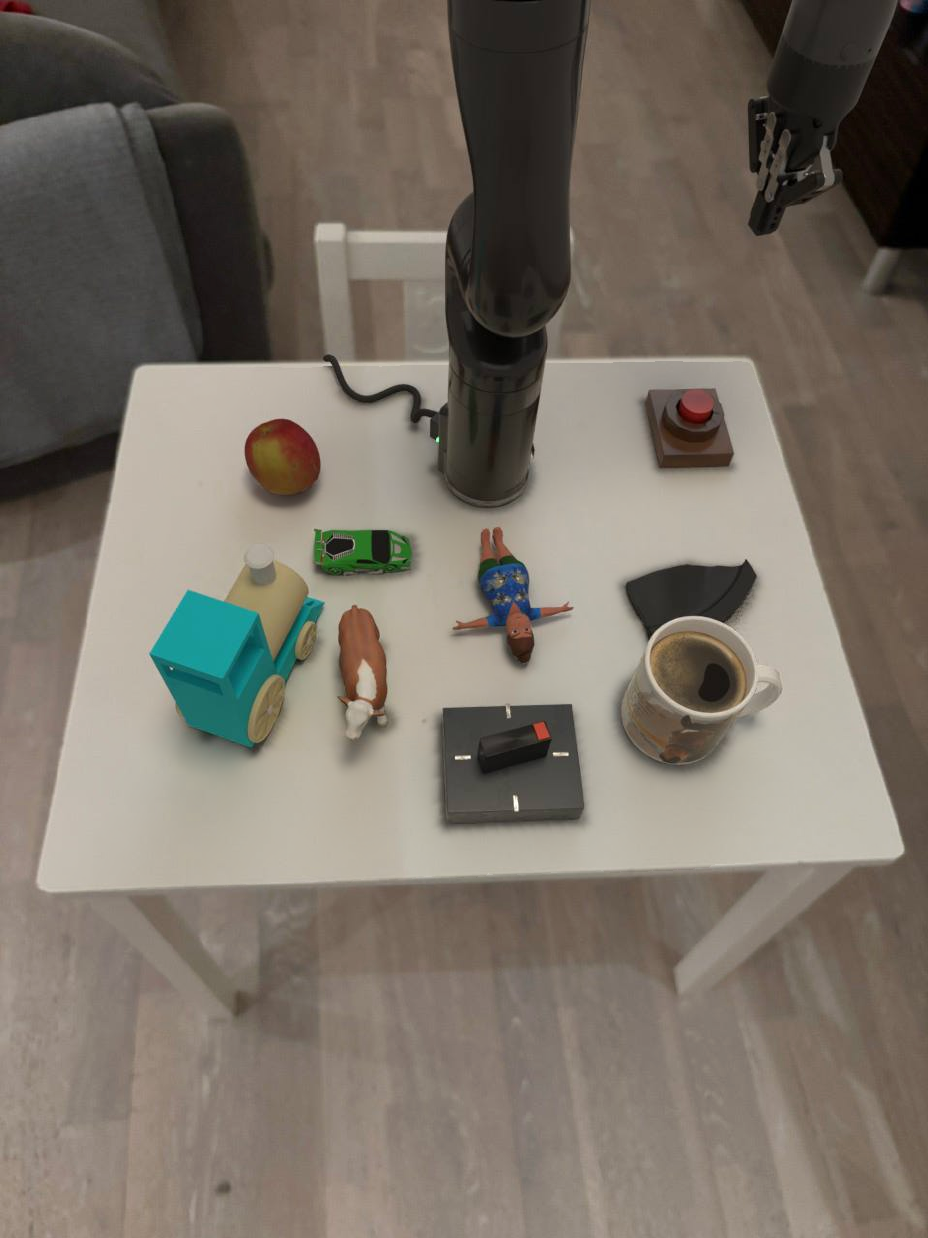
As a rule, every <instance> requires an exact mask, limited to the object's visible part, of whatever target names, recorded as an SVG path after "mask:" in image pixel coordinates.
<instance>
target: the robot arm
mask: <svg viewBox="0 0 928 1238" xmlns="http://www.w3.org/2000/svg"><path fill="white" fill-rule="evenodd" d="M898 1H899V0H791V3H790V7H789V10H788V13H787V15H786V19H785V22H784V25H783V28H782V31H781V35H780V37H779V39H778V44H777V47H776V50H775V53H774V56H773V59H772V63H771V66H770V69H769V71H768V75H767V78H766V91H767V94H768V95H764V96H758V97H753V98H750V99H749V100H748V103H747V124H748V125H747V126H748V127H747V128H748V129H747V130H748V158H749V159H748V160H749V163H748V164H749V171H750V173H751V174H755V173H756V175H757V177H756V182H755V186H756V187H755V188H756V189H757V193H756V195H755V198H754V202H753V204H752V207H751V210H750V213H749V220H748V222H747V226H748V227H749V228H750V230H751V231H752V233H753V234H754V235H755V236H756V237H761V236H765V235H770V234H773V233H774V232H776V231H777V230H778V229H779V227H780V224H781V221H782V219H783V217H784V214H785V211H786V208H789V207H794V206H799V205H805V204H807V203H809V202H811V201H813V200H814V199H816V198H817V197H819V196H821V195H823V194H825V193H827V192H828V191H830V190H832V189H833V188H836V187H837V186H840V184H841V183H842V182H843V177H844V175H843V171H842V169H841V168H835V169H833V162H832V156H831V152H832V150H833V149H834V148H835V146H836V143H837V140H838V131H839V126H840V123H841V122H842V120H843V119H844V118H845V117H846V116H847V115H848V114H849V113H850V112H851V111H852V110H853V109H854V108H855V106H856V105H857V104H858V102H859V99H860V97H861V96H862V95H861V94H862V92H863V89H864V87H865V85H866V83H867V80H868V78H869V76H870V73H871V70H872V68H873V65H874V64H875V61H876V58H877V57H878V54H879V51H880V49H881V46H882V44H883V41H884V39H885V37H886V35H887V33H888V30H889V28H890V25H891V22H892V20H893V17H894V15H895V11H896V8H897V5H898ZM591 5H592V0H446V11H447V12H446V13H447V14H446V15H447V31H448V42H449V50H450V58H451V66H452V72H453V80H454V84H455V85H454V87H455V92H456V98H457V104H458V109H459V110H458V111H459V115H460V120H461V125H462V131H463V134H464V139H465V140H464V141H465V144H466V150H467V156H468V160H469V165H470V171H471V180H472V191H471V192H470V193H469V194H467V196H465V198H464V199H463V200H461V202H460V203H459V205H458V206H457V207H456V209H455V211H454V212H453V214H452V216H451V219H450V221H449V224H448V227H447V231H446V237H445V247H444V248H445V251H444V316H445V325H446V333H447V339H448V371H447V372H448V373H447V376H448V377H447V378H448V379H447V401H446V402H445V403H444V404H443V405H442V406H441V407H440V408H439V411H436V410H433V409H430V408H421V406H422V395H421V393H420V391H419V390H418V389H417V387H415V386H414V385H411V384H408V383H400V384H394V385H392V386H390V387H388V388H386V389H383V390H381V391H379V392H375V393H374V394H369V395H364V394H360V393H358V392H356V391H355V390H353V389H352V388H351V387H350V385H349V384H348V382H347V381H346V378H345V376H344V373H343V370H342V368H341V366H340V363H339V361H338V359H337V358H336V356H335V355H332V354H330V353H329V354H325V355H323V357H322V360H323V361H324V362H327V363H329V364H331V367H332V369H333V370H332V371H333V372H334V375H335V378H336V380H337V383H338V384H339V386H340V388H341V389H342V391H343V392H344V393H345V394H346V395H347V397H349V398H350V399H352V400H353V401H355V402H357V403H362V404H372V403H376V402H379V401H382V400H383V399H386V398H389V397H391V396H393V395H396V394H398V393H402V392H405V393H409V394H410V395H412V398H413V403H412V408H411V412H410V421H411V423H413V424H419V422H420V421H421V419H422V417H426V418H430V419H429V437H430V438H431V439H432V440H434V441H435V442H437V470H438V472H440V473H442V474H443V478H444V481H445V483H446V486H447V487H448V489H449V490H450V492H451V493H452V494H453V495H454V496H455V497H457V498H458V499H459V500H461V501H463V502H465V503H466V504H469V505H473V506H477V507H481V508H495V507H499V506H503V505H506V504H508V503H511V502H512V501H514V500H516V499H517V498H518V497H520V495H521V494H522V493H523V492H524V490H525V488H526V487H527V484H528V480H529V473H530V462H531V456H532V459H534V458H535V451H536V449H535V445H534V438H535V432H536V425H537V419H538V414H539V406H540V401H541V400H540V399H541V394H542V386H543V381H544V380H543V379H544V374H545V368H546V361H547V355H548V354H547V353H548V345H549V340H548V331H547V324H549V323H550V322H551V320H552V319H553V318H554V317H555V316H556V315H557V313H558V312H559V310H560V309H561V307H562V306H563V304H564V301H565V299H566V297H567V295H568V293H569V287H570V284H571V280H572V249H571V247H572V246H571V244H572V243H571V203H570V201H571V199H570V198H571V175H572V174H571V173H572V165H573V158H574V157H573V155H574V149H575V141H576V135H577V134H576V133H577V125H578V118H579V109H580V99H581V92H582V91H581V90H582V80H583V70H584V60H585V53H586V46H587V38H588V31H589V23H590V15H591Z"/></svg>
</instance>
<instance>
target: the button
mask: <svg viewBox="0 0 928 1238" xmlns="http://www.w3.org/2000/svg"><path fill="white" fill-rule="evenodd" d="M713 406H714V401H713V398H712V397H711V396H710V395H709V394H708V393H706V392H704V391H702V390H689V391H687V392H686V393H684V395H683V396H682V399H681V402H680V405H679V408H678V413H679V415H680V417H681V418H683V419H684V420H685V421H688V422H690V423H693V424H701V423H704V422H706V421H707V420H708V419H709V417H710V414H711V412H712V409H713Z"/></svg>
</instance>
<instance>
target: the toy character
mask: <svg viewBox="0 0 928 1238" xmlns="http://www.w3.org/2000/svg"><path fill="white" fill-rule="evenodd" d="M503 539H504V533H503V530H502V528H501V526H495V527H493V530H492V542H493V544H494V546H495V549H496V554H497V557H496V556H495V553H494V551H493V549H492V546H491V531H490V529H489V528H486V527H485V528H484V529H482V530H481V531H480V544H481V547H482V548H481V549H482V550H481V555H480V562H479V568H478V573H477V582H478V586H479V589H480V591H481V592H482V594H483V596H484V597H485V599H486V600H488V601H489V602H490V604H491V607H492V614H491V615H487V616H484V617H483V616H482V617H480V618H477V619H473V620H471V621H468V622H462V621H458V620H457V619H456V620H455V623H456V624H458V625H456V626H453V627H452V631H460V630H465V629H469V630H470V629H481V628H482V629H483V628H499V627H506V641H507V645H508V647H509V649H510V652H511V654H512V656H514V657H515V658H516V660H517V661H518V663H520V664H527V663H529V662H530V660H531V657H532V653H533V650H534V647H535V636H534V632H533V629H532V626H531V622H533V621H536V620H539V619H544V618H546V617H551V616H555V615H559V614H561V613H567V612H570V611H572V610H574V608H575V607H574V606H568V605H569V604H570V601H567V602H566V603H565V604H563V605H562V606H554V607H553V606H547V607H532V606H531V603H530V597H529V589H530V575H529V570H528V569H527V567H526V565H525V564H524V562H523V561H520V560H518V559H517V558H516V556H514V554H513V553H512V552H511V551H510V550H509V548H508V547H507V545H506V544H504V540H503Z"/></svg>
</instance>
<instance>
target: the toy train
mask: <svg viewBox="0 0 928 1238" xmlns="http://www.w3.org/2000/svg"><path fill="white" fill-rule="evenodd" d="M243 562H244V566H243V567H242V569H241V571H240V573H239V574H238V576H237V578H236V580H235V582H234V583H233V585H232V587H231V589H230V590H229V592H228V594H227V595H226V598H225V599H224V600H221V599H218V598H214V597H211V596H208V595H206V594H203V593H199V592H197V591H193V590H191V589H187V590H186V591H185V593H184V595H183V597H182V598H181V600H180V601H179V603H178V605H177V607H176V608H175V610H174V611H173V613H172V615H171V617H170V618H169V620H167V621H168V622H167V623H166V624H165V627H164V628H163V630H162V632H161V633H160V634H159V636H158V638H157V639H156V641H155V643H154V645H153V646H152V648H151V650H150V652H149V653H148V655H149V656H150V658H151V660H152V662H153V664H154V665H155V668H156V669H157V671H158V672H159V674H160V676H161V678H162V680H163V682H164V683H165V685H166V687H167V689H168V691H169V693H170V694H171V696H172V698H173V700H174V703H175V710H176V713H177V715H178V716H179V717H180V718H183V719H184V720H185V721H186V723H187V725H188V726H189V727H191V728H194V729H197V730H200V731H202V732H206V733H209V734H212V735H214V736H217V737H220V738H223V739H226V740H228V741H232V742H235V743H237V744H240V745H242V746H246V747H248V748H253V746H254V744H258V743H261V742H263V741H264V740H265V739H266V738H267V737H268V735H269V734H270V732H271V731H272V729H273V728H274V726H275V724H276V721H277V719H278V717H279V715H280V711H281V709H282V706H283V702H284V697H285V689H286V684H285V683H286V680H287V679H288V677H289V675H290V673H291V670H292V669H293V667H294V665H295V663H296V661H297V660H299V661H300V660H301V661H303V660H305V659H307V658H308V656H309V654H310V653H311V651H312V648H313V646H314V643H315V641H316V637H317V632H318V631H317V629H318V627H317V624H316V621H317V620H318V617H319V615H320V613H321V611H322V610H323V607H324V605H325V601H323V600H319V599H317V598H313V597H310V596H308V595H309V587H308V584H307V582H306V581H305V579H304V578H303V577H302V576H301V575H300V574H299V573H298V572H297V571H296V570H295V569H293V568H292V567H290V566H288V565H287V564H284V563H283V562H280V561H278V560H275V552H274V550H273V549H272V547H270V546H269V545H267V544H264V543H256V544H253V545H251V546H249V547H248V548H247V549H246V550H245V551H244V553H243ZM171 668H172V669H171Z"/></svg>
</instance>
